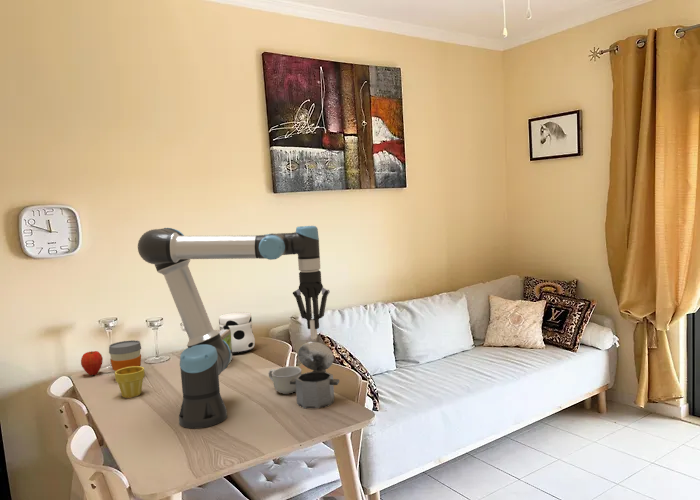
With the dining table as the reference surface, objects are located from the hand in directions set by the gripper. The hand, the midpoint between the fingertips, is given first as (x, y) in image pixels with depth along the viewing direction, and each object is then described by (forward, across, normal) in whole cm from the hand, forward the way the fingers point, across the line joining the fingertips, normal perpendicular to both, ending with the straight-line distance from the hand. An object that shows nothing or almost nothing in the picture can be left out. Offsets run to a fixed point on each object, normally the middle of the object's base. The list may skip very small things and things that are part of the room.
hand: (314, 338), depth 187 cm
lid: (+7, 0, 0) cm, 7 cm away
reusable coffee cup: (+22, +89, -20) cm, 94 cm away
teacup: (+22, +15, -8) cm, 28 cm away
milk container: (+22, +59, -64) cm, 90 cm away
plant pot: (+22, +74, 0) cm, 77 cm away
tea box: (+22, +58, -40) cm, 74 cm away
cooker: (+22, 0, +2) cm, 22 cm away
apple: (+22, +109, -24) cm, 114 cm away
